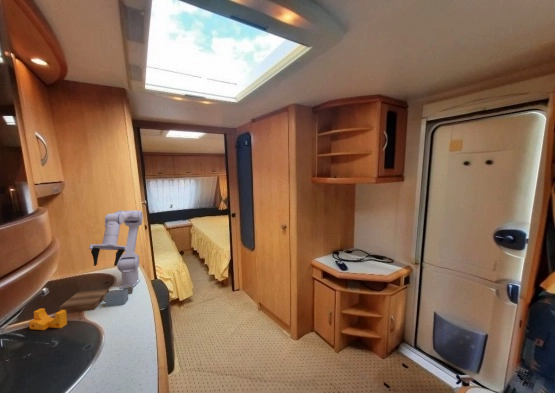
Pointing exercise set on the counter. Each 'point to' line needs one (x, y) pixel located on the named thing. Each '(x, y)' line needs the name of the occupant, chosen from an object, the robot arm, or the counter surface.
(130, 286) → the grey rubber block
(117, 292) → the block
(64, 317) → the pipe clamp
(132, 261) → the robot arm
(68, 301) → the walnut stand
